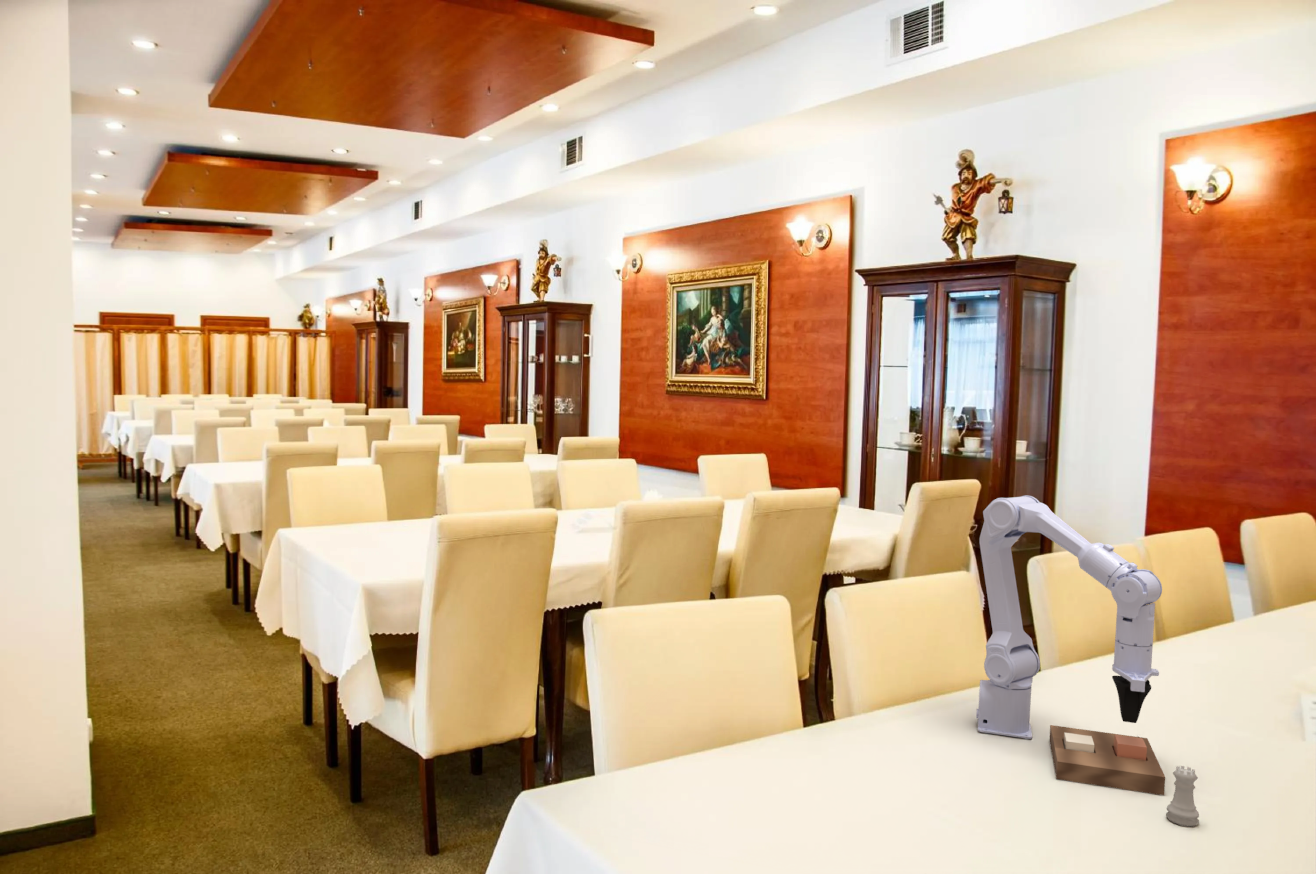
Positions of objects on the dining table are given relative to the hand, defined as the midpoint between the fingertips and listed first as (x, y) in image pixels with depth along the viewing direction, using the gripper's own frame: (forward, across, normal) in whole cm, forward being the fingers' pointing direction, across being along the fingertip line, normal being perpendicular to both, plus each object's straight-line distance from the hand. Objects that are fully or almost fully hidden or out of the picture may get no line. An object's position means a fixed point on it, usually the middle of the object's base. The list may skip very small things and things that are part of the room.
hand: (1129, 721), depth 163 cm
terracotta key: (+7, 0, 0) cm, 7 cm away
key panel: (+8, 0, +4) cm, 9 cm away
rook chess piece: (+9, -18, -6) cm, 21 cm away
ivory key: (+8, 0, +8) cm, 11 cm away
